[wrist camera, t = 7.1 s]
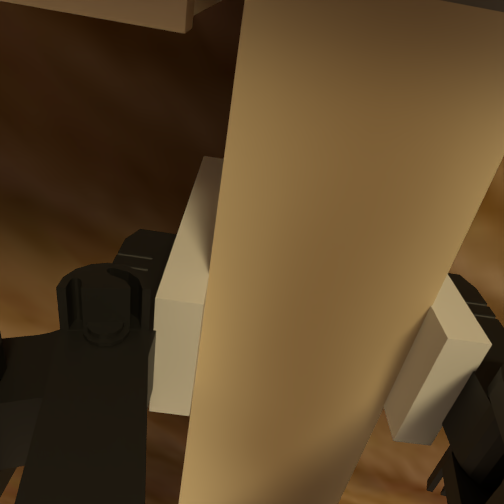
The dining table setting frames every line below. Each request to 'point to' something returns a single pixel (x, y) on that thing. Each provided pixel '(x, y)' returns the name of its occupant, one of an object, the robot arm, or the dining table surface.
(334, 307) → the rail
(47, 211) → the dining table surface
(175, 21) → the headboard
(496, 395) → the robot arm
